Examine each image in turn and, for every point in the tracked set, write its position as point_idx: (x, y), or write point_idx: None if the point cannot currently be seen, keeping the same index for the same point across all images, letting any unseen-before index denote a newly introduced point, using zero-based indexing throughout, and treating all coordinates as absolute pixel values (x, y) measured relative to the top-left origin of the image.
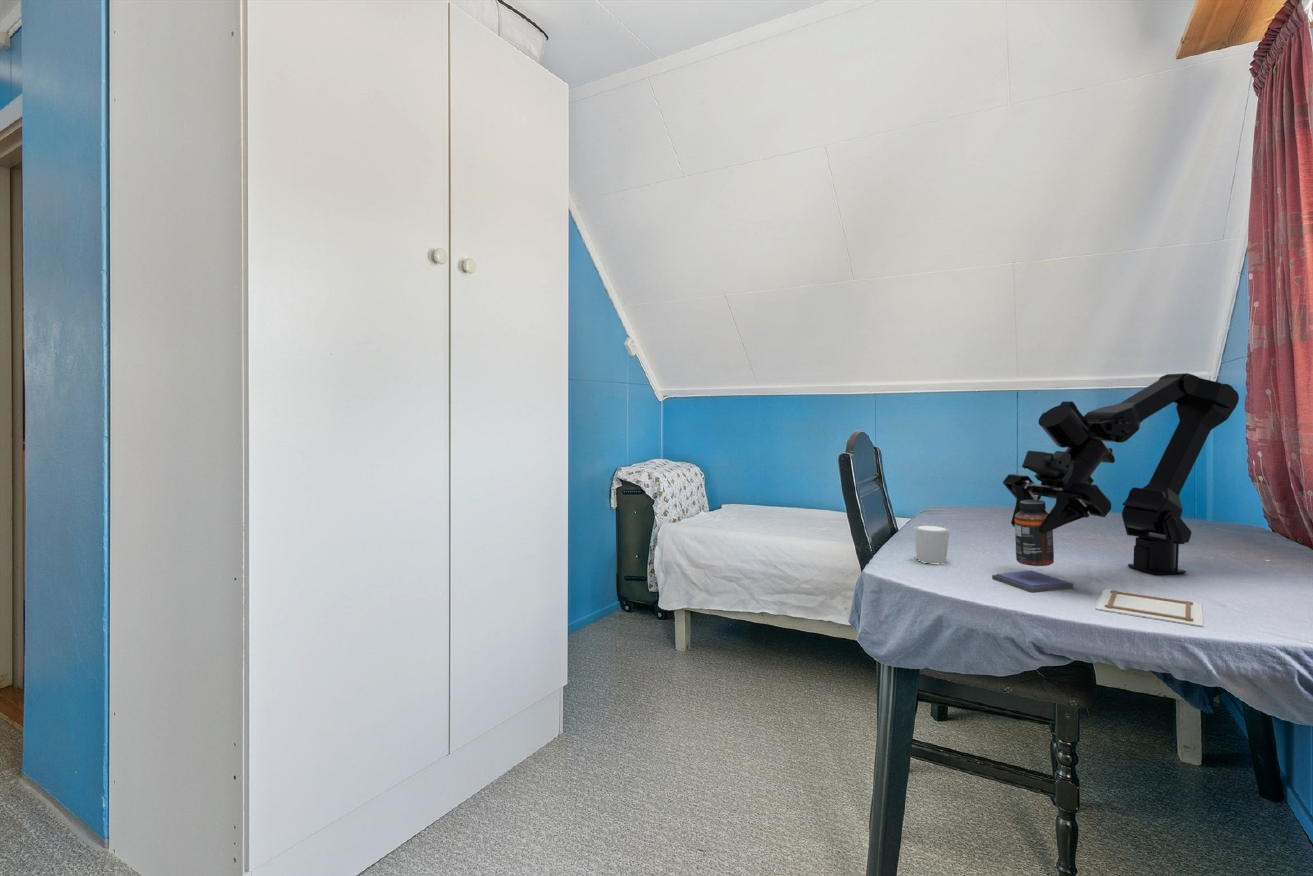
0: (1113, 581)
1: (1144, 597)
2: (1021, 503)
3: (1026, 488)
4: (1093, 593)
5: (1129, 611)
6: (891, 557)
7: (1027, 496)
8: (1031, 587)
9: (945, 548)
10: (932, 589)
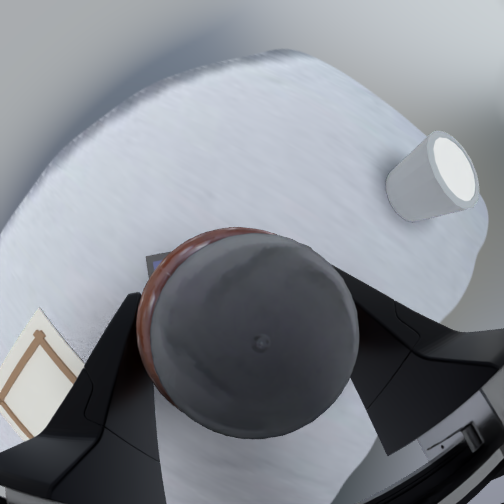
0: (223, 483)
1: None
2: (266, 235)
3: (487, 402)
4: None
5: (23, 352)
6: None
7: (432, 392)
8: (152, 260)
9: (411, 196)
10: (208, 85)
